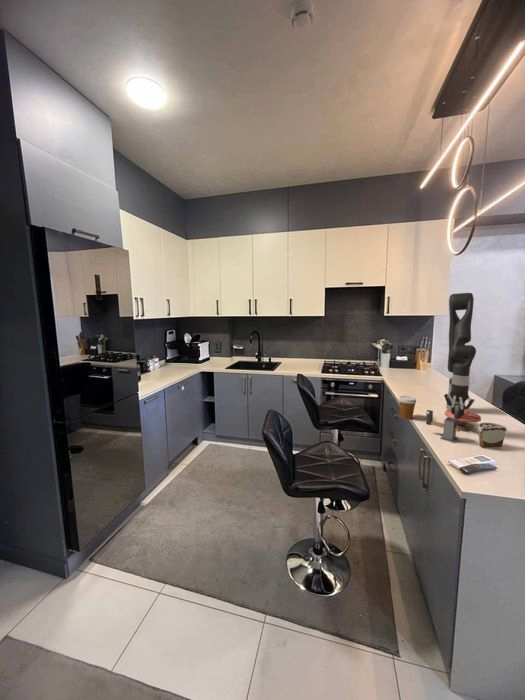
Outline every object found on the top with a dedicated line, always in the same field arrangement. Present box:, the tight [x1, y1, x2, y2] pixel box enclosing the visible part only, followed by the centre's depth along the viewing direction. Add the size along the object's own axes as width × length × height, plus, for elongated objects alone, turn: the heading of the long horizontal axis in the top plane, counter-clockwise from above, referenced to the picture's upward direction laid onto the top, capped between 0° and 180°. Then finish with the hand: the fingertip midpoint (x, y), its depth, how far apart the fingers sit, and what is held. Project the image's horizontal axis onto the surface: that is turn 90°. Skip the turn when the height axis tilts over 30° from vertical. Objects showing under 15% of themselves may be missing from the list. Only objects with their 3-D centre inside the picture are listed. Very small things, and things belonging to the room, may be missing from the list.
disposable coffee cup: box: [398, 395, 417, 420], centre depth 171 cm, size 10×10×12 cm
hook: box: [425, 409, 461, 433], centre depth 144 cm, size 15×3×7 cm, turn 42°
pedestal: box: [456, 420, 475, 432], centre depth 156 cm, size 11×11×2 cm
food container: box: [477, 422, 508, 449], centre depth 136 cm, size 12×6×10 cm, turn 92°
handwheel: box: [444, 404, 482, 425], centre depth 155 cm, size 16×16×12 cm
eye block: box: [440, 416, 459, 443], centre depth 142 cm, size 6×6×10 cm
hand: (457, 414), depth 151 cm, fingers closed on handwheel, 3 cm apart
